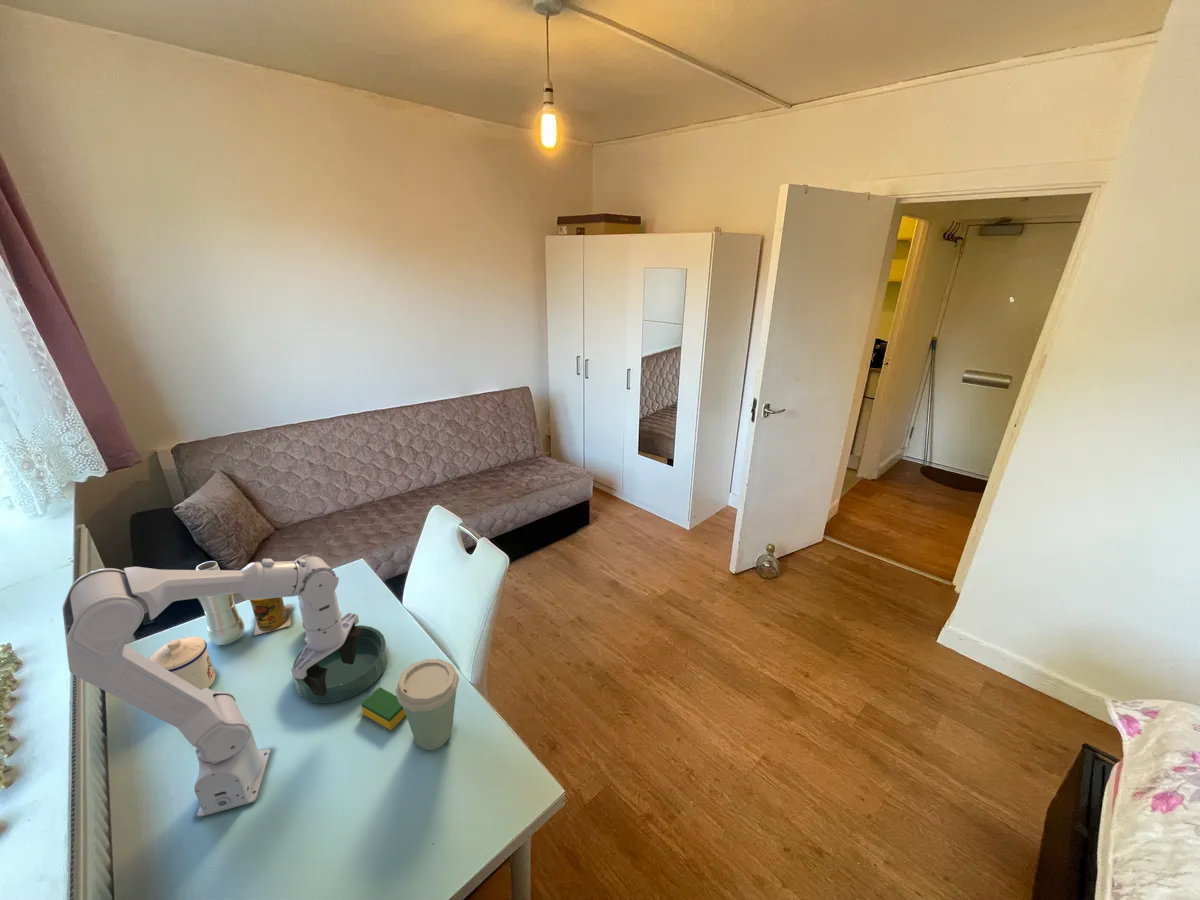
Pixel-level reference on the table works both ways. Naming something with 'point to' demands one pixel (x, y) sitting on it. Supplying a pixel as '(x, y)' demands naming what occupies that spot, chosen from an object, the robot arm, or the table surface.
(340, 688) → the bowl
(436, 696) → the disposable coffee cup
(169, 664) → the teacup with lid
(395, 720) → the sponge
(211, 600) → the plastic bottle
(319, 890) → the table surface
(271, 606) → the condiment
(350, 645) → the robot arm
